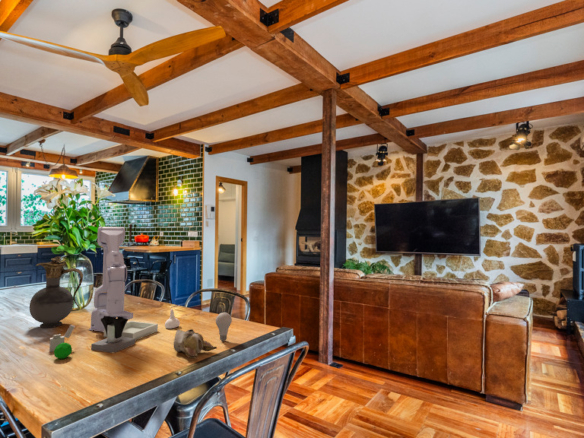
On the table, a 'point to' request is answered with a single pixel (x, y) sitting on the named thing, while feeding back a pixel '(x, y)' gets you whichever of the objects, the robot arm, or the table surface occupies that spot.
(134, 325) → the tray
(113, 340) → the pin
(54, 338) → the lighter
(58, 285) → the pitcher
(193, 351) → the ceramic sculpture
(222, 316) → the lightbulb
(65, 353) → the polyhedron
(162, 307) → the table surface
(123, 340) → the collar
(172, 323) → the garlic bulb
